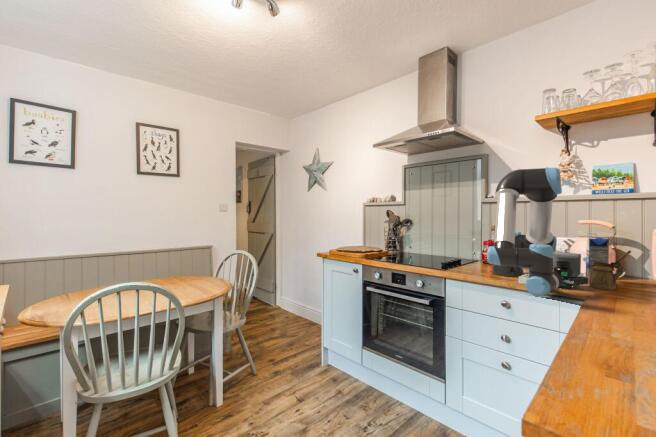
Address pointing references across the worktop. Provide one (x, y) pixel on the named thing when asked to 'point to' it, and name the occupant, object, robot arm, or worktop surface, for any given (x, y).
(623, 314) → the worktop surface
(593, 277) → the wooden mug
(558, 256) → the bay
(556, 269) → the supplement bottle
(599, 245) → the beverage box
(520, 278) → the tray
